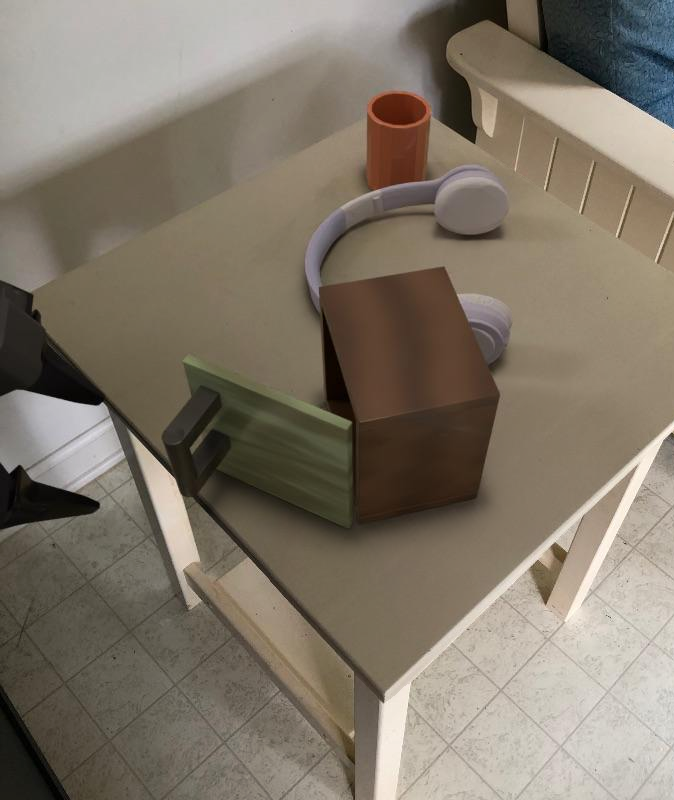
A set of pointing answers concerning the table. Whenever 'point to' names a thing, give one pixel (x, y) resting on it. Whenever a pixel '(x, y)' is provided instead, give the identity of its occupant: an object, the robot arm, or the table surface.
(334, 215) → the headphones
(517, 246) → the table surface
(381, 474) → the cupboard
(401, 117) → the cup
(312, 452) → the door
